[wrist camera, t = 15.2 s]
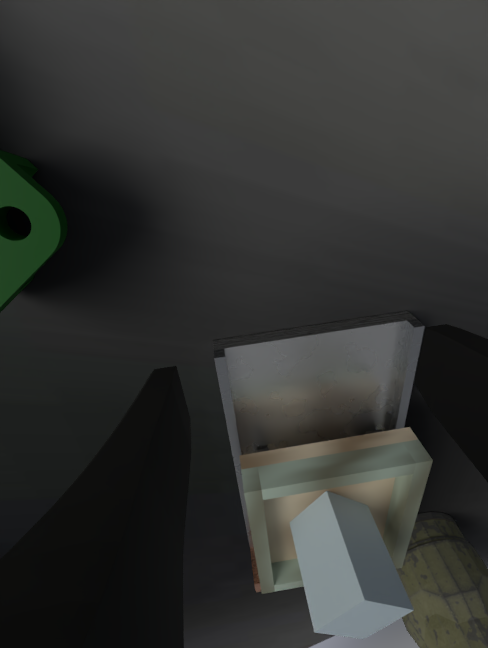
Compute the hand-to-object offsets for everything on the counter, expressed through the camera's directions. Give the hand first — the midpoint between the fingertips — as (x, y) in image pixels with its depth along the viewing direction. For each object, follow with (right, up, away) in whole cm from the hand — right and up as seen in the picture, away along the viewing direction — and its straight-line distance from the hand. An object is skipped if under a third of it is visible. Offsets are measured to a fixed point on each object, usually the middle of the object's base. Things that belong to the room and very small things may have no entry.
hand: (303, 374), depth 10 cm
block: (+4, -12, +14) cm, 19 cm away
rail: (+3, -8, +16) cm, 18 cm away
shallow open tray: (+4, -10, +16) cm, 20 cm away
